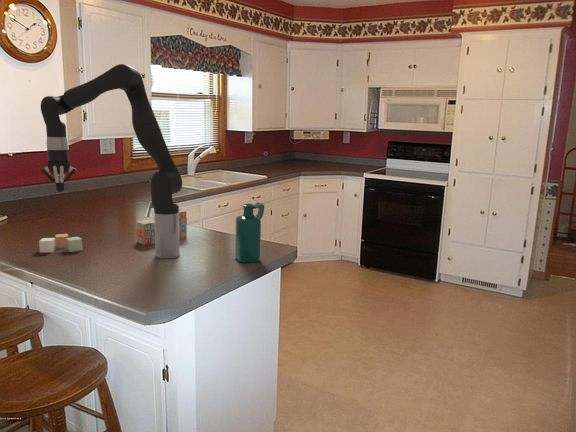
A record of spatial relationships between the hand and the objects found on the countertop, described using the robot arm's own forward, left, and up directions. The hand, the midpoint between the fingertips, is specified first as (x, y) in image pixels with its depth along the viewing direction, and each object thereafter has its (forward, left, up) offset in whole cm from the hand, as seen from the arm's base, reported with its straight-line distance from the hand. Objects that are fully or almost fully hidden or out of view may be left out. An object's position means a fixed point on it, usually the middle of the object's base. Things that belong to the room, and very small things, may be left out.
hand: (60, 191), depth 191 cm
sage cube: (-11, -5, -21) cm, 25 cm away
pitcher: (-36, -69, -22) cm, 81 cm away
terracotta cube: (-5, 0, -21) cm, 22 cm away
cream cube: (-11, +5, -21) cm, 24 cm away
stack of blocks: (+1, -39, -23) cm, 45 cm away
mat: (-8, 0, -22) cm, 24 cm away
